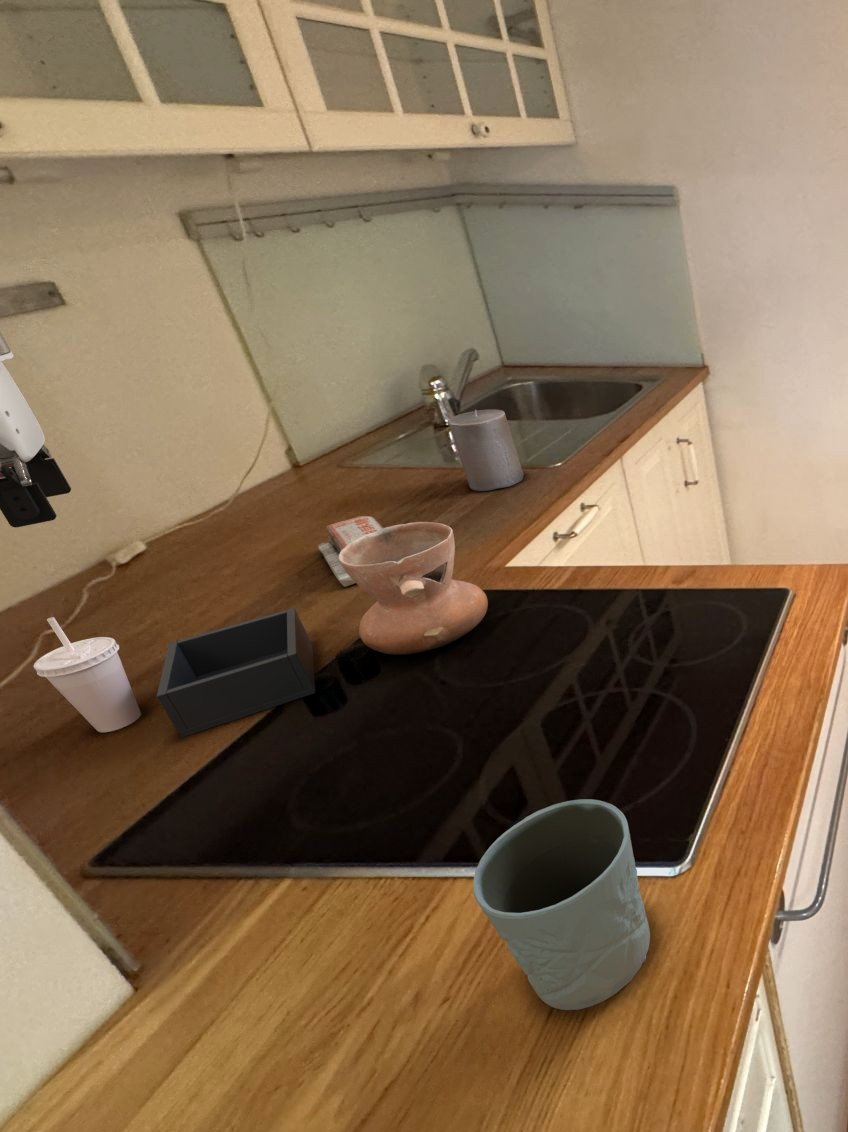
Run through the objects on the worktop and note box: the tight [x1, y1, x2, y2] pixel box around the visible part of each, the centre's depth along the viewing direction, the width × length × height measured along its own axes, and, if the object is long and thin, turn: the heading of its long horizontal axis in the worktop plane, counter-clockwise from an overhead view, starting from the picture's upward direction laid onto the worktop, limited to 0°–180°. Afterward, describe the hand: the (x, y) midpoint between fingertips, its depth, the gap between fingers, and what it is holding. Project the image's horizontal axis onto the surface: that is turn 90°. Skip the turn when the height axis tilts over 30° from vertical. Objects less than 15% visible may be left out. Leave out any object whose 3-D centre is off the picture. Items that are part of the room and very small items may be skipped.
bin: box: [156, 607, 316, 738], centre depth 93 cm, size 12×14×6 cm
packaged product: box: [317, 515, 388, 588], centre depth 123 cm, size 18×5×10 cm
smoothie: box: [33, 616, 142, 733], centre depth 86 cm, size 6×6×14 cm
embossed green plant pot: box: [472, 798, 651, 1011], centre depth 58 cm, size 10×10×12 cm
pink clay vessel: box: [339, 521, 489, 656], centre depth 101 cm, size 18×14×14 cm
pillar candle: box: [447, 408, 525, 492], centre depth 150 cm, size 10×10×15 cm
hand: (44, 508), depth 82 cm, fingers open, 9 cm apart
